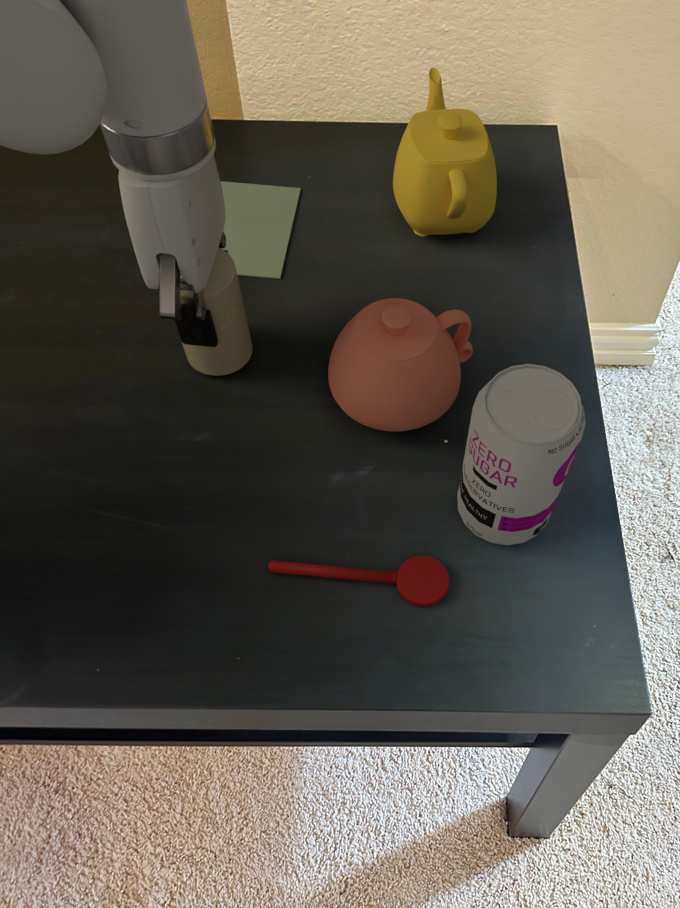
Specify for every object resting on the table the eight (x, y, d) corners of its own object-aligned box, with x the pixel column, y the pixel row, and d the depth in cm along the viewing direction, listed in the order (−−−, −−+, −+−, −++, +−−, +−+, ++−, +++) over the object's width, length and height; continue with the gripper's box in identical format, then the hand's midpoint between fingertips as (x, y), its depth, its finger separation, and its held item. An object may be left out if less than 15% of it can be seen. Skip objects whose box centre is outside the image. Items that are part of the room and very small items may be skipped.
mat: (147, 267, 79) (146, 266, 78) (178, 179, 85) (177, 177, 85) (280, 279, 78) (280, 277, 78) (300, 189, 85) (300, 187, 85)
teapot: (382, 158, 88) (382, 64, 78) (475, 152, 89) (486, 58, 79) (403, 269, 80) (407, 179, 70) (505, 260, 80) (522, 171, 71)
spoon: (264, 592, 62) (262, 587, 61) (273, 545, 64) (271, 540, 63) (446, 609, 62) (447, 605, 61) (450, 561, 64) (451, 556, 63)
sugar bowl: (312, 363, 73) (303, 283, 64) (444, 325, 76) (452, 243, 67) (356, 462, 68) (352, 390, 59) (495, 417, 71) (512, 342, 62)
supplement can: (558, 483, 68) (601, 375, 54) (535, 561, 64) (575, 465, 51) (472, 457, 69) (493, 344, 56) (444, 532, 65) (461, 431, 52)
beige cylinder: (179, 372, 72) (151, 294, 63) (194, 322, 75) (169, 240, 66) (245, 379, 72) (226, 301, 63) (258, 328, 75) (241, 247, 66)
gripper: (137, 51, 57) (190, 243, 73) (68, 207, 49) (144, 384, 65) (235, 60, 57) (267, 250, 73) (182, 217, 49) (231, 392, 65)
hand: (209, 312), depth 69 cm, fingers closed on beige cylinder, 6 cm apart
